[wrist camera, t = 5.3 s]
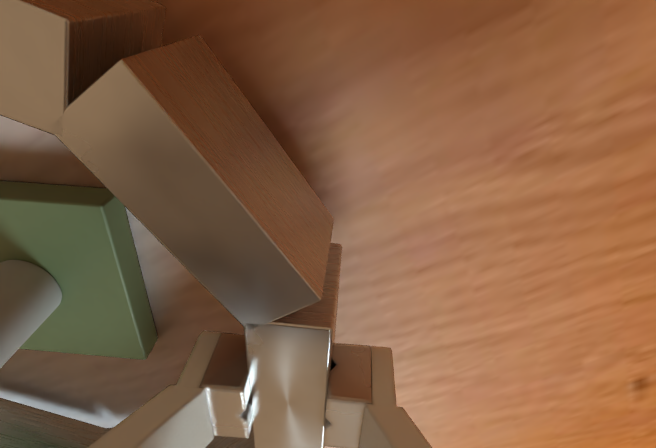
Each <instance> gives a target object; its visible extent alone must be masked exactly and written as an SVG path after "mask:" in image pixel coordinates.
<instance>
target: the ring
mask: <svg viewBox="0 0 656 448" xmlns="http://www.w3.org/2000/svg"><path fill="white" fill-rule="evenodd" d="M165 11H166V8H165V7H164V6H163V5H160V4H158V3H156V2H153V1H151V0H0V115H1V116H4V117H7V118H9V119H12V120H15V121H18V122H20V123H23V124H26V125H29V126H31V127H34V128H37V129H39V130H42V131H45V132H48V133H50V134H53V135H55V136H56V137H57V138H58V139H59V140H60V141H61V142H62V143H63V144H64V145H65V146H66V147H67V148H68V149H69V150H70V151H71V152H72V153H73V154H74V155H75V156H76V157H77V158H78V159H79V160H80V161H81V162H82V163H83V164H84V165H85V166H86V167H87V168H88V169H89V170H90V171H91V172H92V173H93V174H94V175H95V176H96V177H97V178H98V179H99V180H100V181H101V182H102V183H103V184H104V185H105V187H106V188H107V189H108V190H109V191H110V192H111V193H112V194H113V195H114V196H115V197H116V198H117V199H118V200H119V201H120V202H121V203H122V204H123V205H124V206H125V207H126V208H127V209H128V210H129V211H130V212H131V213H132V214H133V215H134V216H135V217H136V218H137V219H138V220H139V221H140V222H141V223H142V224H143V225H144V226H145V227H146V228H147V229H148V230H149V231H150V232H151V233H152V234H153V235H154V236H155V237H156V238H157V239H158V240H159V241H160V242H161V243H162V244H163V245H164V246H165V247H166V248H167V249H168V250H169V251H170V252H171V253H172V254H173V255H174V256H175V257H176V258H177V259H178V260H179V261H180V262H181V263H182V264H183V265H184V266H185V267H186V269H187V270H188V271H189V272H190V273H191V274H192V275H193V276H194V277H195V278H196V279H197V280H198V281H199V282H200V283H201V284H202V285H203V286H204V287H205V288H206V289H207V290H208V291H209V292H210V293H211V294H212V295H213V296H214V297H215V298H216V299H217V300H218V301H219V302H220V303H221V304H222V305H223V306H224V307H225V308H226V309H227V310H228V311H229V312H230V313H231V314H232V315H233V316H234V317H235V318H236V319H237V320H238V321H239V322H240V323H241V324H242V325H243V326H244V335H245V346H246V357H247V368H248V373H249V380H250V390H251V393H250V401H251V404H252V412H253V423H252V427H251V431H250V435H249V438H239V437H225V436H214V439H213V440H212V441H211V442H210V443H209V444H208V445H207V446H206V447H205V448H324V447H325V446H324V429H325V415H326V403H327V390H328V381H329V377H330V371H331V358H332V348H333V343H334V340H335V328H336V315H337V303H338V290H339V277H340V265H341V252H342V246H341V244H334V243H330V241H331V235H332V229H333V222H334V218H333V217H332V216H331V214H330V213H329V211H328V210H327V209H326V207H325V206H324V205H323V203H322V202H321V200H320V199H319V198H318V196H317V195H316V194H315V192H314V191H313V189H312V188H311V187H310V185H309V184H308V183H307V181H306V180H305V178H304V177H303V176H302V174H301V173H300V172H299V170H298V169H297V167H296V166H295V165H294V163H293V162H292V161H291V159H290V158H289V156H288V155H287V154H286V152H285V151H284V150H283V148H282V147H281V145H280V144H279V143H278V141H277V140H276V139H275V137H274V136H273V134H272V133H271V132H270V130H269V129H268V128H267V126H266V125H265V123H264V122H263V121H262V119H261V118H260V117H259V115H258V114H257V112H256V111H255V110H254V108H253V107H252V106H251V104H250V103H249V101H248V100H247V99H246V97H245V96H244V95H243V93H242V92H241V90H240V89H239V88H238V86H237V85H236V84H235V82H234V81H233V79H232V78H231V77H230V75H229V74H228V73H227V71H226V70H225V68H224V67H223V66H222V64H221V63H220V62H219V60H218V59H217V57H216V56H215V55H214V53H213V52H212V51H211V49H210V48H209V46H208V45H207V44H206V42H205V41H204V40H203V38H202V37H201V36H200V35H197V36H193V37H190V38H187V39H184V40H180V41H177V42H174V43H171V44H168V45H164V46H161V41H162V34H163V26H164V19H165ZM111 429H112V428H103V427H99V426H96V425H92V424H89V423H86V422H82V421H79V420H75V419H72V418H68V417H65V416H61V415H58V414H55V413H51V412H48V411H44V410H41V409H37V408H34V407H31V406H27V405H24V404H20V403H17V402H13V401H10V400H6V399H3V398H0V448H87V447H89V446H90V445H91V444H93V443H94V442H95V441H97V440H98V439H99V438H101V437H102V436H103V435H104V434H106V433H107V432H108V431H110V430H111Z"/></svg>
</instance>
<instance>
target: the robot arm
mask: <svg viewBox="0 0 656 448" xmlns="http://www.w3.org/2000/svg"><path fill="white" fill-rule="evenodd" d="M250 393H251V390H250V380H249V373H248V368H247V357H246V346H245V335H240V334H231V333H221V332H211V331H203V332H202V333H201V334H200V335H199V337H198V339H197V341H196V343H195V345H194V347H193V350H192V352H191V354H190V356H189V358H188V360H187V362H186V365H185V367H184V369H183V371H182V373H181V375H180V377H179V379H178V382H177V384H176V385H169V386H168V387H166V388H165V389H164V390H162V391H161V392H160V393H159V394H157V395H156V396H155V397H153V398H152V399H151V400H149V401H148V402H147V403H145V404H144V405H143V406H141V407H140V408H139V409H137V410H136V411H135V412H133V413H132V414H131V415H130V416H128V417H127V418H126V419H124V420H123V421H122V422H120V423H119V424H118V425H116V426H115V427H114V428H112V429H111V430H110V431H108V432H107V433H106V434H104V435H103V436H102V437H101V438H99V439H98V440H97V441H95V442H94V443H93V444H91V445H90V446H89V447H87V448H205V447H206V446H207V445H208V444H209V443H210V442H211V441H212V440H213V439H214V436H225V437H239V438H249V435H250V431H251V427H252V423H253V412H252V404H251V401H250ZM324 446H329V447H336V448H432V447H431V445H430V444H429V443H428V441H427V440H426V439H425V437H424V436H423V434H422V433H421V432H420V430H419V429H418V428H417V426H416V425H415V424H414V422H413V421H412V419H411V418H410V417H409V415H408V414H407V413H406V411H405V410H404V409H403V407H396V394H395V382H394V369H393V357H392V350H391V348H387V347H376V346H371V347H370V346H367V345H354V344H341V343H333V348H332V358H331V371H330V377H329V381H328V390H327V403H326V415H325V429H324Z"/></svg>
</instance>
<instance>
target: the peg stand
mask: <svg viewBox="0 0 656 448" xmlns="http://www.w3.org/2000/svg"><path fill="white" fill-rule="evenodd" d="M157 339H158V337H157V333H156V329H155V325H154V321H153V317H152V313H151V309H150V305H149V301H148V297H147V293H146V289H145V285H144V281H143V277H142V273H141V269H140V265H139V261H138V257H137V254H136V250H135V246H134V242H133V238H132V234H131V230H130V226H129V222H128V218H127V214H126V210H125V206H124V205H123V204H122V203H121V202H120V201H119V200H118V199H117V198H116V197H115V196H114V195H113V194H112V193H111V192H110V191H109V190H108V189H106V188H92V187H79V186H65V185H51V184H38V183H24V182H11V181H0V368H1V367H2V366H3V365H4V364H5V363H6V362H7V361H8V360H9V359H10V358H11V357H12V355H13V354H14V353H15V352H16V351H17V350H18V349H28V350H40V351H51V352H62V353H74V354H85V355H96V356H108V357H119V358H130V359H142V360H145V359H146V358H147V357H148V355H149V353H150V352H151V350H152V348H153V346H154V344H155V343H156V341H157Z"/></svg>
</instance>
